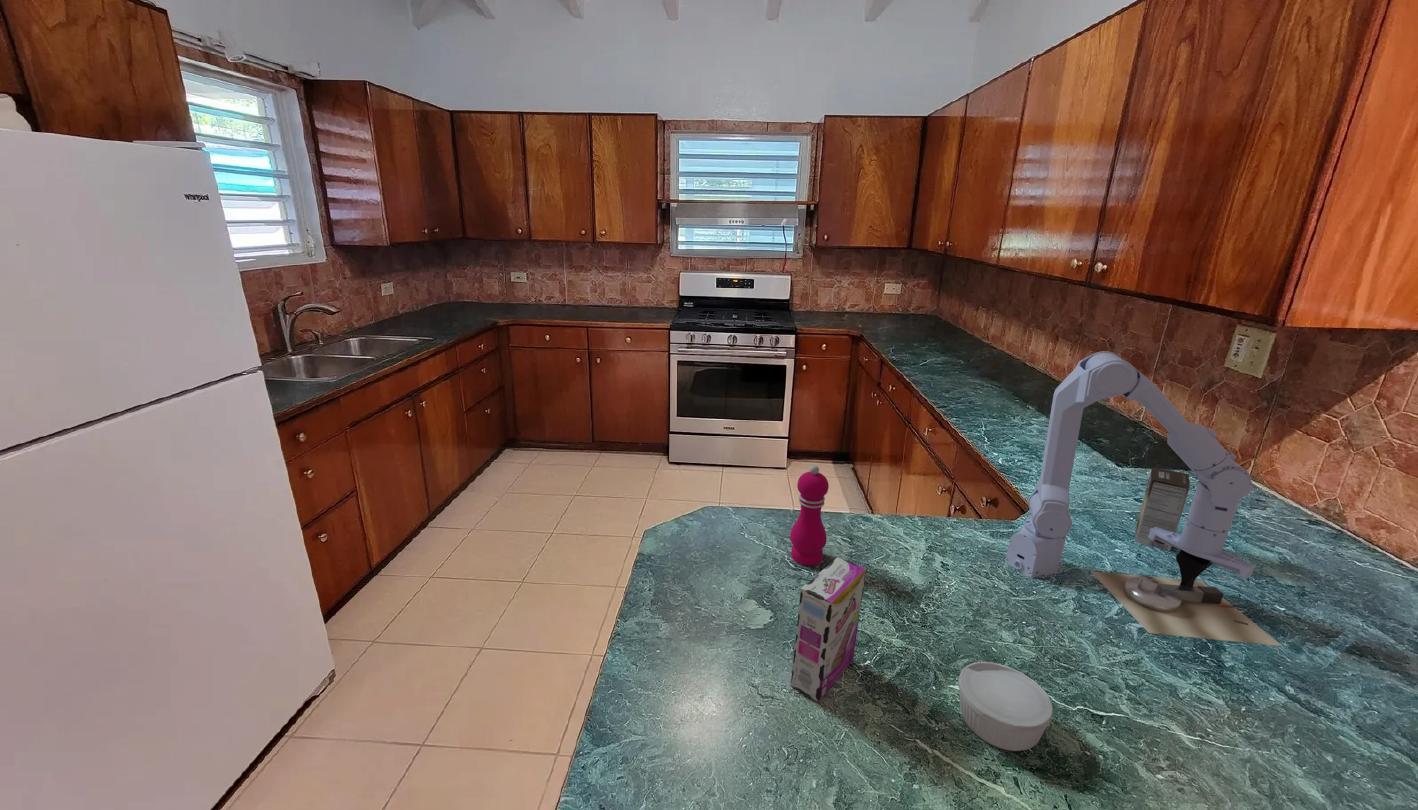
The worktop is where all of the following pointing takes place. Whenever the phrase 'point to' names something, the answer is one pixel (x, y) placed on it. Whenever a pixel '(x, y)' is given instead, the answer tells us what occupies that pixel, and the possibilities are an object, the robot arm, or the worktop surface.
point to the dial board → (1188, 615)
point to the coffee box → (1162, 505)
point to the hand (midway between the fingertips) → (1184, 590)
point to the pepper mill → (809, 519)
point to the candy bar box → (827, 627)
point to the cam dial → (1168, 594)
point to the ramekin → (1003, 705)
